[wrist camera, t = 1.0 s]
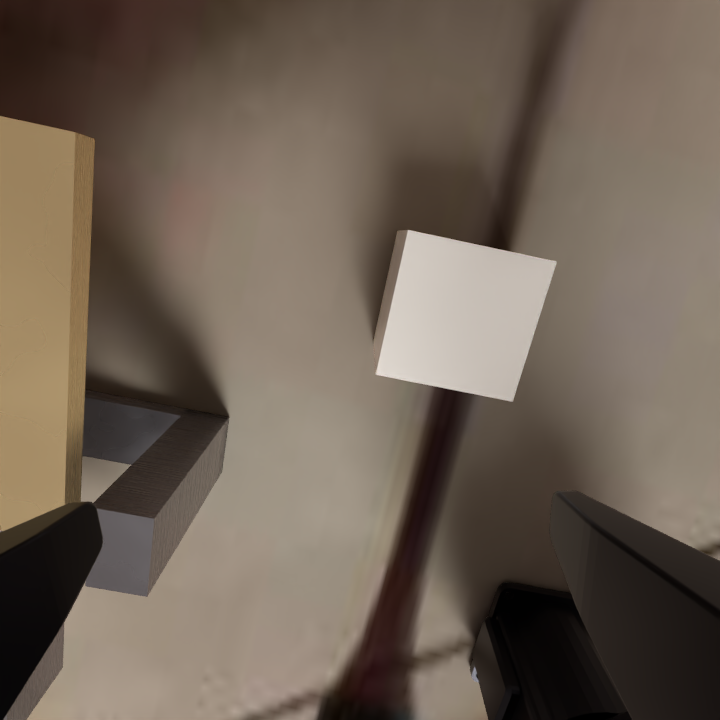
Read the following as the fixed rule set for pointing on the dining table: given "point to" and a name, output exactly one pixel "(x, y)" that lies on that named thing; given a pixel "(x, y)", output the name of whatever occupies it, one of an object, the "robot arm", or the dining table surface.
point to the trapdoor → (42, 334)
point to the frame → (148, 483)
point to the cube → (459, 314)
